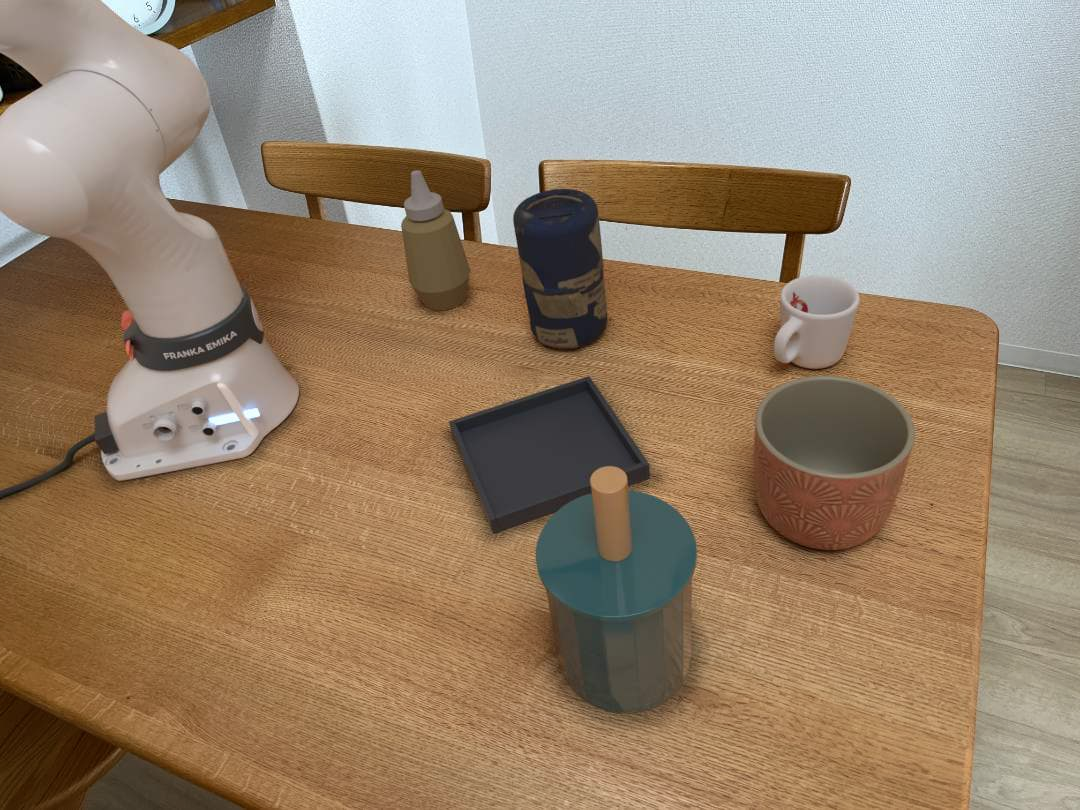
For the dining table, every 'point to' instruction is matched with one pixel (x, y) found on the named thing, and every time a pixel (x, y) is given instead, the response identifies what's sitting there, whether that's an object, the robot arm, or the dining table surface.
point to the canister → (562, 267)
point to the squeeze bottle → (433, 249)
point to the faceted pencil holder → (625, 655)
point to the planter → (830, 459)
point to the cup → (815, 321)
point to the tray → (543, 451)
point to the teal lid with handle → (616, 552)
